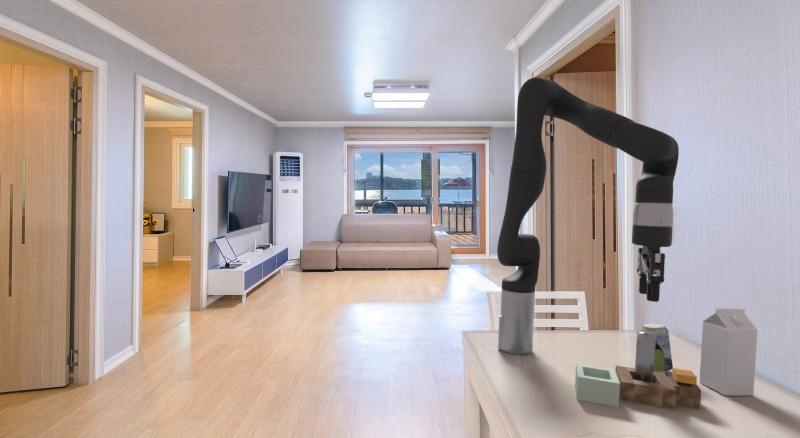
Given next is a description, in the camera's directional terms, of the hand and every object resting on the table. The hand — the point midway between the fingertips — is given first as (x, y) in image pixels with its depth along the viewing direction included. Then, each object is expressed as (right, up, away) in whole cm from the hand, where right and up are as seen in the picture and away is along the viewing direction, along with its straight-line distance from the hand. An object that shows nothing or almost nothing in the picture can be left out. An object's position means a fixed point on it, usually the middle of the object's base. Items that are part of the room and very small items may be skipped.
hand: (648, 297), depth 91 cm
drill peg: (-1, -22, +1) cm, 22 cm away
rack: (-12, -21, 0) cm, 25 cm away
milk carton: (+21, -23, +5) cm, 32 cm away
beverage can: (+11, -22, +15) cm, 29 cm away
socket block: (+2, -22, 0) cm, 22 cm away
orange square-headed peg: (+6, -21, -2) cm, 22 cm away
